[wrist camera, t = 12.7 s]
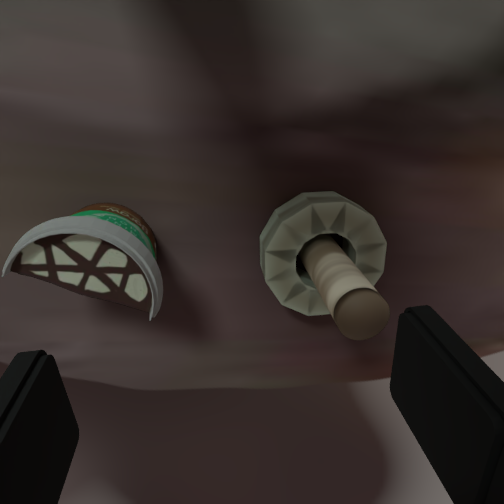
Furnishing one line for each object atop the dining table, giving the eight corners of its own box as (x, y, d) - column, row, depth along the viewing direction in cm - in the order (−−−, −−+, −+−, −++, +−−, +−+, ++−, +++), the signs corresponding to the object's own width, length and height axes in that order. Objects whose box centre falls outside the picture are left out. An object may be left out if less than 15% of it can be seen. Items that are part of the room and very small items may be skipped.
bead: (258, 195, 39) (264, 206, 35) (374, 188, 40) (392, 198, 36) (261, 299, 43) (266, 319, 40) (364, 291, 44) (379, 309, 41)
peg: (296, 230, 40) (339, 296, 28) (334, 227, 41) (392, 292, 28) (296, 264, 42) (335, 342, 29) (332, 262, 42) (386, 337, 30)
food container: (188, 218, 39) (183, 258, 30) (167, 269, 41) (156, 323, 32) (61, 169, 36) (11, 198, 26) (45, 228, 38) (-7, 274, 28)
